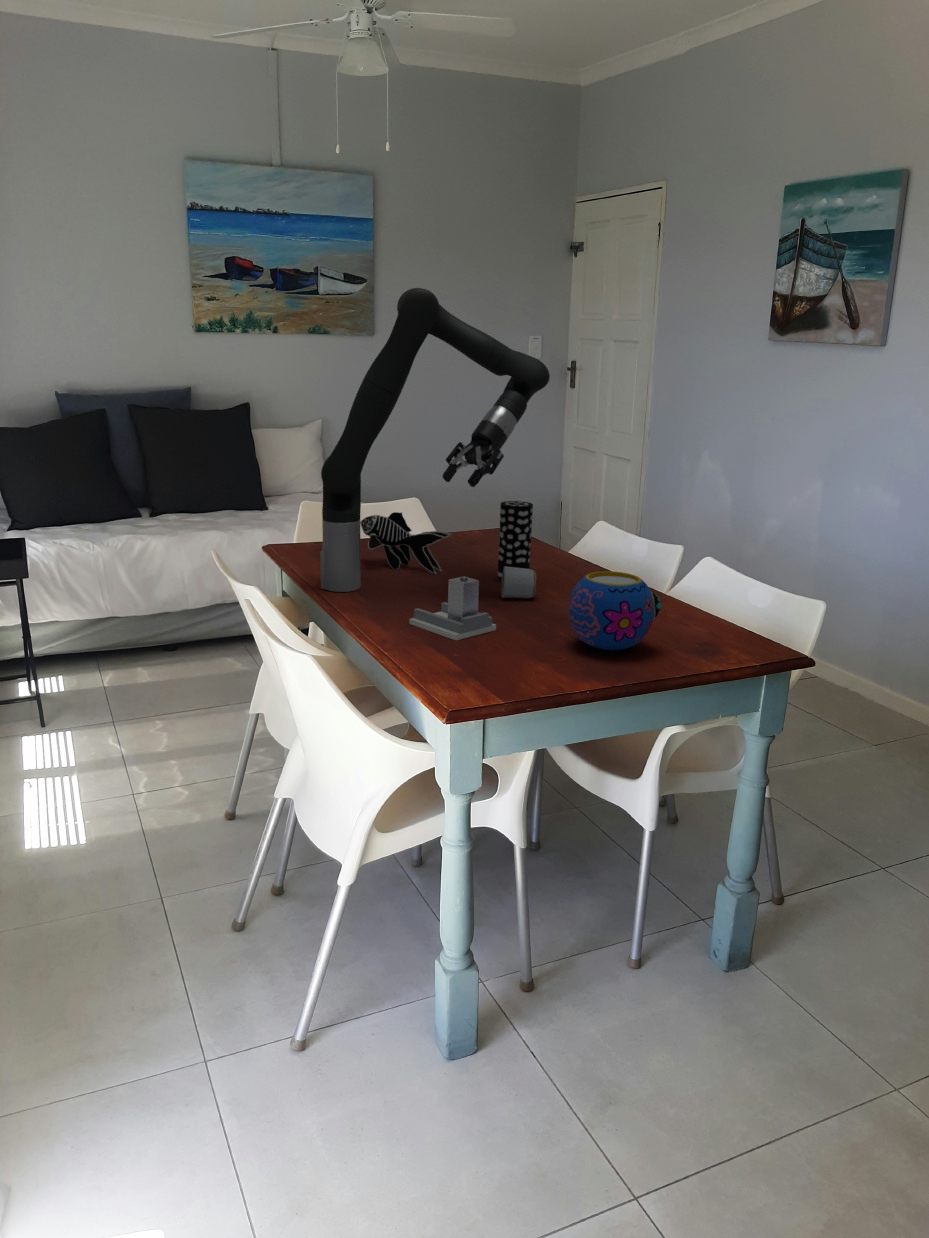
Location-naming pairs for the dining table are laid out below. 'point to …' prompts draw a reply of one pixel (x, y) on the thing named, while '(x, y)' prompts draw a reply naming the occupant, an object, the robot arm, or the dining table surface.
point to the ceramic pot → (612, 610)
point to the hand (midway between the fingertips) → (457, 482)
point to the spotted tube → (514, 535)
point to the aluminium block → (462, 597)
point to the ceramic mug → (518, 583)
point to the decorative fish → (401, 540)
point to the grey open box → (452, 623)
